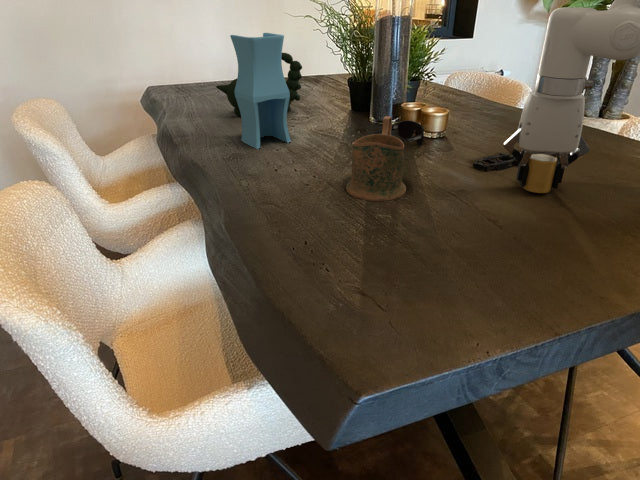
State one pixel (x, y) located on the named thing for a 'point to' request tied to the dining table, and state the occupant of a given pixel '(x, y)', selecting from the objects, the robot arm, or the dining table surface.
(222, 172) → the dining table surface
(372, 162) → the bronze bell
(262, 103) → the teal arched pillar
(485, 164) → the knife
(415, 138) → the sunglasses
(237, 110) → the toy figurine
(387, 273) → the dining table surface
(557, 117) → the robot arm
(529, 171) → the candle holder
